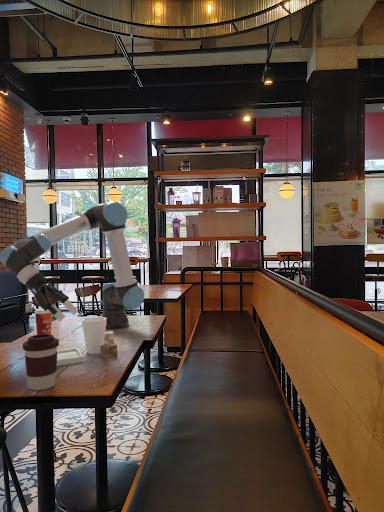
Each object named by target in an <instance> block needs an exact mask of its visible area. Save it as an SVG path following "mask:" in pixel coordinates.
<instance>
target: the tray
mask: <svg viewBox="0 0 384 512" xmlns="http://www.w3.org/2000/svg"><path fill="white" fill-rule="evenodd" d="M80 363H85V356H84V354H83V353H82V352H81V350H80V349H79V348H78V347H75V348H67V349H60V350H58V349H57V367H60V366H67V365H72V364H80Z"/></svg>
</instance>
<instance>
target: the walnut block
mask: <svg viewBox="0 0 384 512" xmlns="http://www.w3.org/2000/svg"><path fill="white" fill-rule="evenodd" d="M99 354H100V356H99V357H100V358H102V359H105V360H110V359H113V358H117V357H118V344H115V343H113V344H112V343H109V344H104V345H100V353H99Z"/></svg>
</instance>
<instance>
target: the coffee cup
mask: <svg viewBox="0 0 384 512" xmlns="http://www.w3.org/2000/svg"><path fill="white" fill-rule="evenodd" d="M59 345H60V339H58V338H56V337H54V335H53V334H52V333H51V334H39V335H37V334H34V335H31V336H29V337H28V338H27V341H24V342H23V343H22V350H23V351H24V353H25V355H24V358H25V359H24V360H25V370H26V371H25V372H26V376H27V383H28V384H27V385H28V388H29V389H30V390H31V391H43V390H48V389H51V388H53V387H55V385H56V372H57V368H58V366H57V351H58V349H57V348H58V346H59Z"/></svg>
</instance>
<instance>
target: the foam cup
mask: <svg viewBox="0 0 384 512" xmlns="http://www.w3.org/2000/svg"><path fill="white" fill-rule="evenodd" d="M81 326H82V330H83V336H84V343H85V348H86V353H87V354H91V355H95V354H96V355H97V354H100V345H104V338H105V332H106V329H107V328H106V318H105V317H102V316H89V317H85V318H82V319H81Z"/></svg>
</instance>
